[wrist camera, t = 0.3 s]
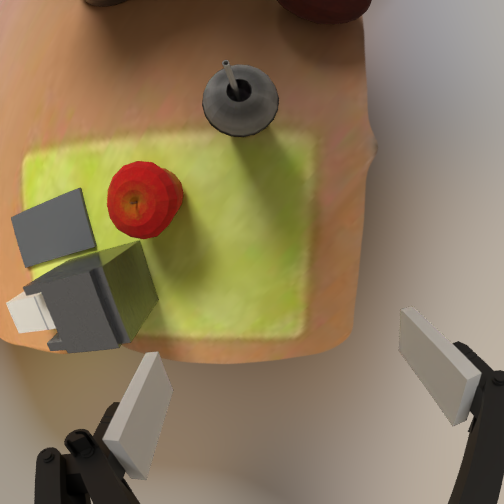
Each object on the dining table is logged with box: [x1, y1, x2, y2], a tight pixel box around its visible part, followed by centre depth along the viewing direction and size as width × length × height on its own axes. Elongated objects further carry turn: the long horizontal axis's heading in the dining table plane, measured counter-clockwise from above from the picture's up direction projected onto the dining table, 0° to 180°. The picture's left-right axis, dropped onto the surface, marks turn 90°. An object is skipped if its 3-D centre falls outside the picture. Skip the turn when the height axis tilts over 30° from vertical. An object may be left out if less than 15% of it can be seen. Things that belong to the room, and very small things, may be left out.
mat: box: [11, 188, 97, 268], centre depth 41 cm, size 9×16×1 cm, turn 103°
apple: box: [107, 161, 184, 239], centre depth 35 cm, size 9×8×12 cm
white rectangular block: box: [6, 291, 56, 333], centre depth 39 cm, size 5×14×10 cm, turn 103°
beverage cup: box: [202, 60, 279, 137], centre depth 28 cm, size 7×7×20 cm
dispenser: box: [23, 241, 159, 353], centre depth 37 cm, size 9×13×13 cm
